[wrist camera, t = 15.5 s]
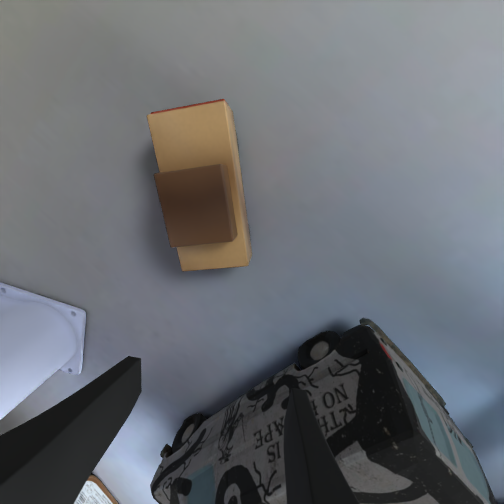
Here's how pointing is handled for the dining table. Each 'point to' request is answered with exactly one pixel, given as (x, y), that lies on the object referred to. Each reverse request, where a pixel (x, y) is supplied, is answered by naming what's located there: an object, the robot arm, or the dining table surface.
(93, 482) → the tin
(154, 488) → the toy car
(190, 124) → the wooden car
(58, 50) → the dining table surface
